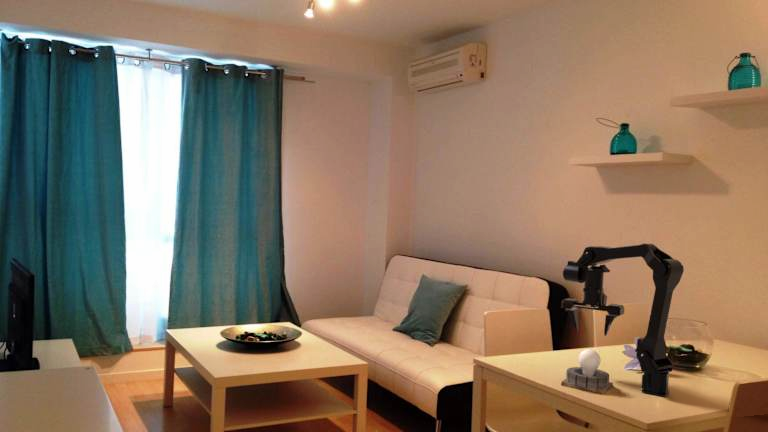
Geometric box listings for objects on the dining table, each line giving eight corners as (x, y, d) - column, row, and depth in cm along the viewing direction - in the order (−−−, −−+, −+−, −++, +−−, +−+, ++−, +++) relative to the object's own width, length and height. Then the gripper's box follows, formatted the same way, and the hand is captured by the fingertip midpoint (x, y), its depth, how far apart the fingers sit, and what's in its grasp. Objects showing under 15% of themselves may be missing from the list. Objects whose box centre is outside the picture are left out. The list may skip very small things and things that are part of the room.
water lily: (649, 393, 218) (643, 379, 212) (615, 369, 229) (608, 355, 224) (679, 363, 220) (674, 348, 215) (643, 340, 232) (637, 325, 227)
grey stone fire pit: (613, 385, 200) (614, 372, 200) (602, 394, 190) (603, 380, 190) (573, 377, 207) (573, 364, 207) (560, 385, 197) (560, 372, 197)
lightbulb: (596, 383, 202) (598, 347, 201) (600, 389, 195) (603, 352, 195) (574, 381, 202) (577, 346, 202) (578, 387, 196) (581, 350, 196)
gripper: (629, 286, 214) (627, 334, 214) (573, 280, 224) (570, 325, 225) (620, 289, 205) (618, 339, 205) (562, 282, 215) (559, 330, 216)
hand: (591, 333), depth 213 cm, fingers open, 9 cm apart
